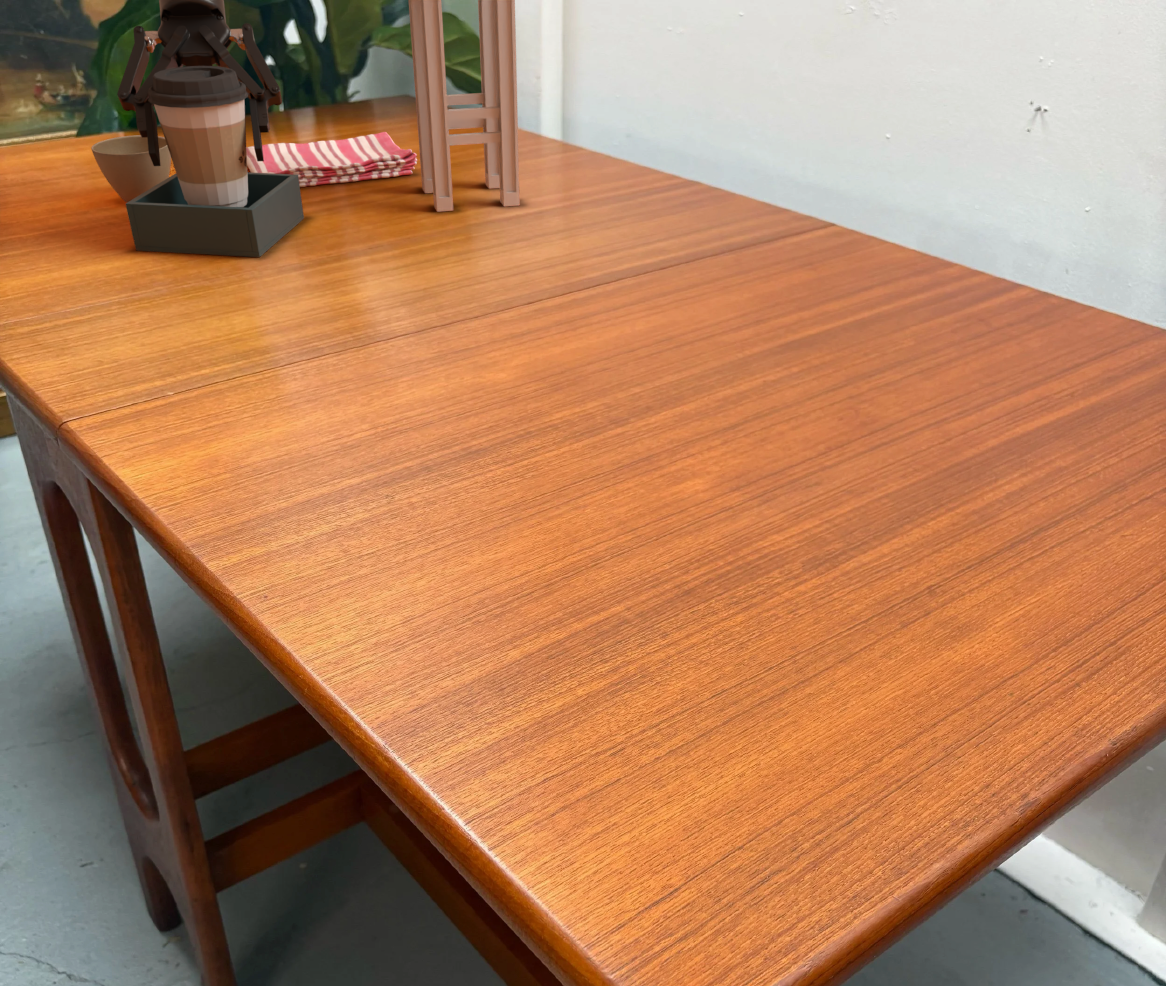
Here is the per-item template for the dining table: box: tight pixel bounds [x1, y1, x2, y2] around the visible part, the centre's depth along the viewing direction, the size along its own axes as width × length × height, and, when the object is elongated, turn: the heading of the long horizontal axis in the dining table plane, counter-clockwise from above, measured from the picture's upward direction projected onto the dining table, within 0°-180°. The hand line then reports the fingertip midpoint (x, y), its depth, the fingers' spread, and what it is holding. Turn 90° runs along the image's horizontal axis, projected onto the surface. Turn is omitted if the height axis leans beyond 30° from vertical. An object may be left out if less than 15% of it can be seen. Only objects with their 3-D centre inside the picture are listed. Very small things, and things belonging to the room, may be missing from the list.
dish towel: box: [246, 131, 418, 188], centre depth 163 cm, size 17×23×4 cm
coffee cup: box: [148, 65, 248, 207], centre depth 132 cm, size 11×11×15 cm
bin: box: [125, 171, 305, 258], centre depth 137 cm, size 16×16×6 cm
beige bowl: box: [90, 134, 172, 203], centre depth 148 cm, size 10×10×7 cm
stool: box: [408, 0, 521, 213], centre depth 142 cm, size 16×16×35 cm
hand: (207, 157), depth 130 cm, fingers closed on coffee cup, 11 cm apart
